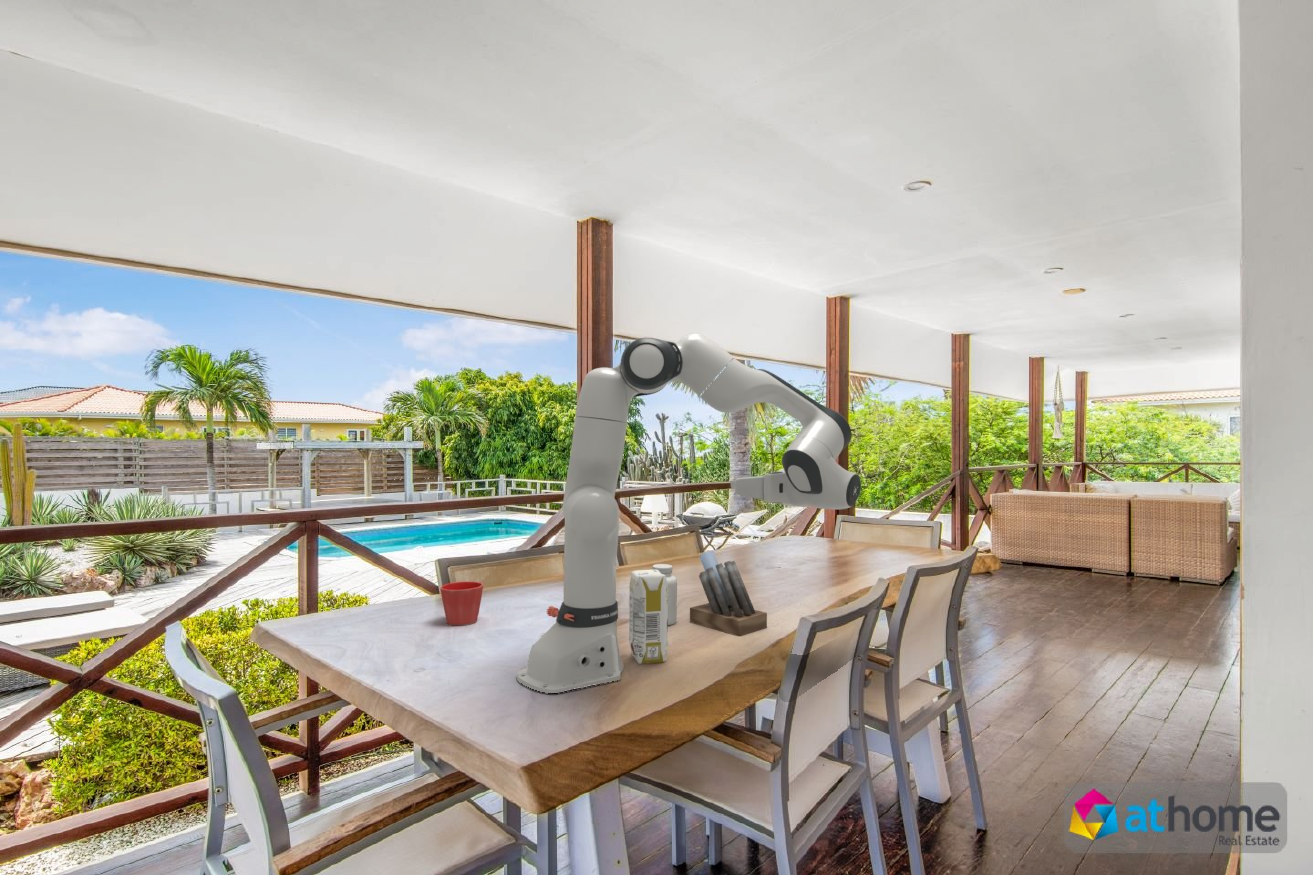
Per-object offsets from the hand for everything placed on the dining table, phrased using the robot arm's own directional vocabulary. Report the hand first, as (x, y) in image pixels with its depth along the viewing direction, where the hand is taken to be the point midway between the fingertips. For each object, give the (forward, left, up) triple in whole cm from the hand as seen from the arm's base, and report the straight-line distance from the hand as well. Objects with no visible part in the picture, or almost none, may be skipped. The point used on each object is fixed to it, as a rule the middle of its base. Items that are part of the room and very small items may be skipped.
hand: (745, 483), depth 162 cm
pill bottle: (-4, +25, -38) cm, 46 cm away
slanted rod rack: (+7, +12, -39) cm, 41 cm away
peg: (+7, +12, -33) cm, 36 cm away
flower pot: (-43, +61, -38) cm, 84 cm away
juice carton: (-26, +6, -38) cm, 47 cm away
